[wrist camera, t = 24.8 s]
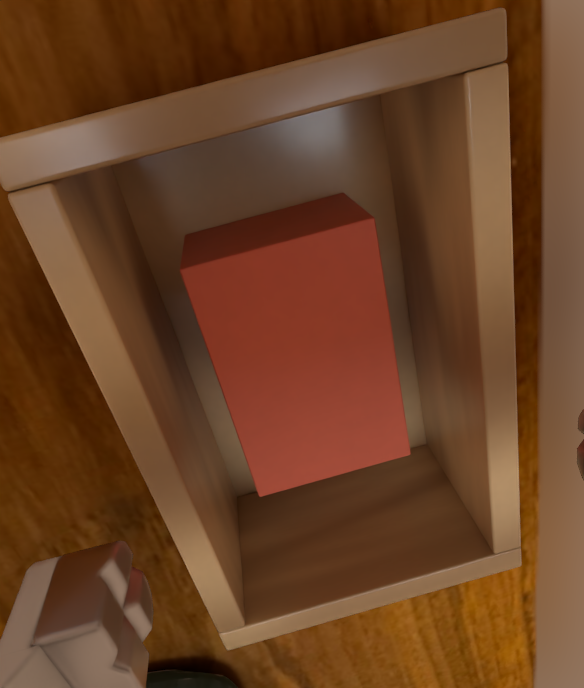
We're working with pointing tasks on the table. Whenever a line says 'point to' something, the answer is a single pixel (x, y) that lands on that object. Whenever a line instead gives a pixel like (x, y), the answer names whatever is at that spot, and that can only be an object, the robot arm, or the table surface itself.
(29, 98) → the table surface
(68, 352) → the table surface
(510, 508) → the holder
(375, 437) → the red rectangular block
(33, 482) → the table surface
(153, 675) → the coffee jar
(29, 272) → the table surface
